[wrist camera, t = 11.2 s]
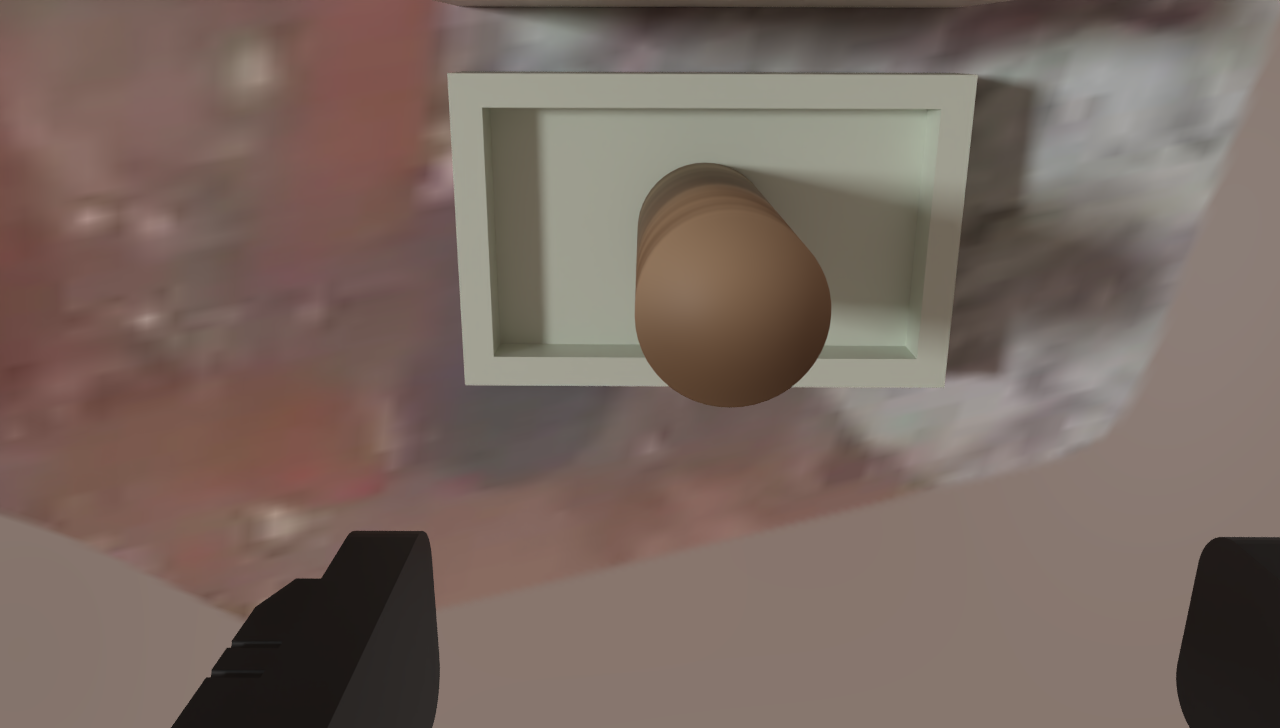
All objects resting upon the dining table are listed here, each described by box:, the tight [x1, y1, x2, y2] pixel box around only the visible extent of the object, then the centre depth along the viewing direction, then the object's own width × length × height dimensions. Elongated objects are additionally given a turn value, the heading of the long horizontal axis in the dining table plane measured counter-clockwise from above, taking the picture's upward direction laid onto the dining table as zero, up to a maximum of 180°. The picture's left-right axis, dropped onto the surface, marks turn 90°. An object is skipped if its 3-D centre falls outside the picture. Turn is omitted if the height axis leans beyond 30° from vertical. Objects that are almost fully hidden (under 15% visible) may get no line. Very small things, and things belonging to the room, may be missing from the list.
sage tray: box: [447, 71, 978, 388], centre depth 32 cm, size 10×16×2 cm, turn 90°
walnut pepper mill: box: [635, 163, 831, 407], centre depth 27 cm, size 4×4×11 cm
